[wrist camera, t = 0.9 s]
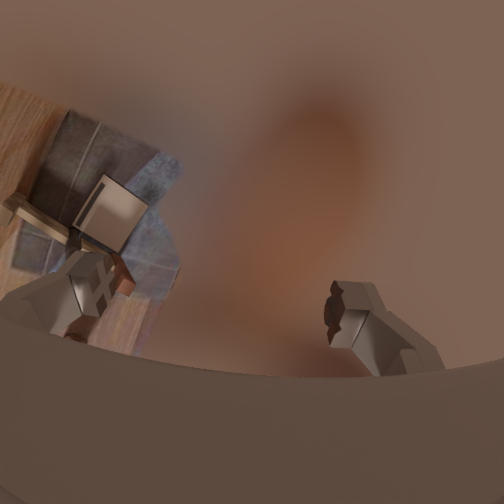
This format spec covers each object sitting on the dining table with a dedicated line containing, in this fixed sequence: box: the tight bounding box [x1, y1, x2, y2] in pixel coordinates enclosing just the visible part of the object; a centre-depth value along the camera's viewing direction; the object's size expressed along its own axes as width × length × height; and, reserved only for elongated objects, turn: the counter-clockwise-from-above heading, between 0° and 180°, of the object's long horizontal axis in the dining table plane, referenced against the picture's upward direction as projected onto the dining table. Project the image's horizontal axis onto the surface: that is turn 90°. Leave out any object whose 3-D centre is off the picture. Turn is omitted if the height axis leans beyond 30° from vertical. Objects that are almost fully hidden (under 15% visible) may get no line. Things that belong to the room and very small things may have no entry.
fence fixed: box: [0, 191, 81, 261], centre depth 35 cm, size 15×3×13 cm, turn 44°
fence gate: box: [79, 237, 136, 297], centre depth 43 cm, size 9×2×12 cm, turn 44°
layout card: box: [72, 175, 148, 253], centre depth 47 cm, size 11×11×1 cm
